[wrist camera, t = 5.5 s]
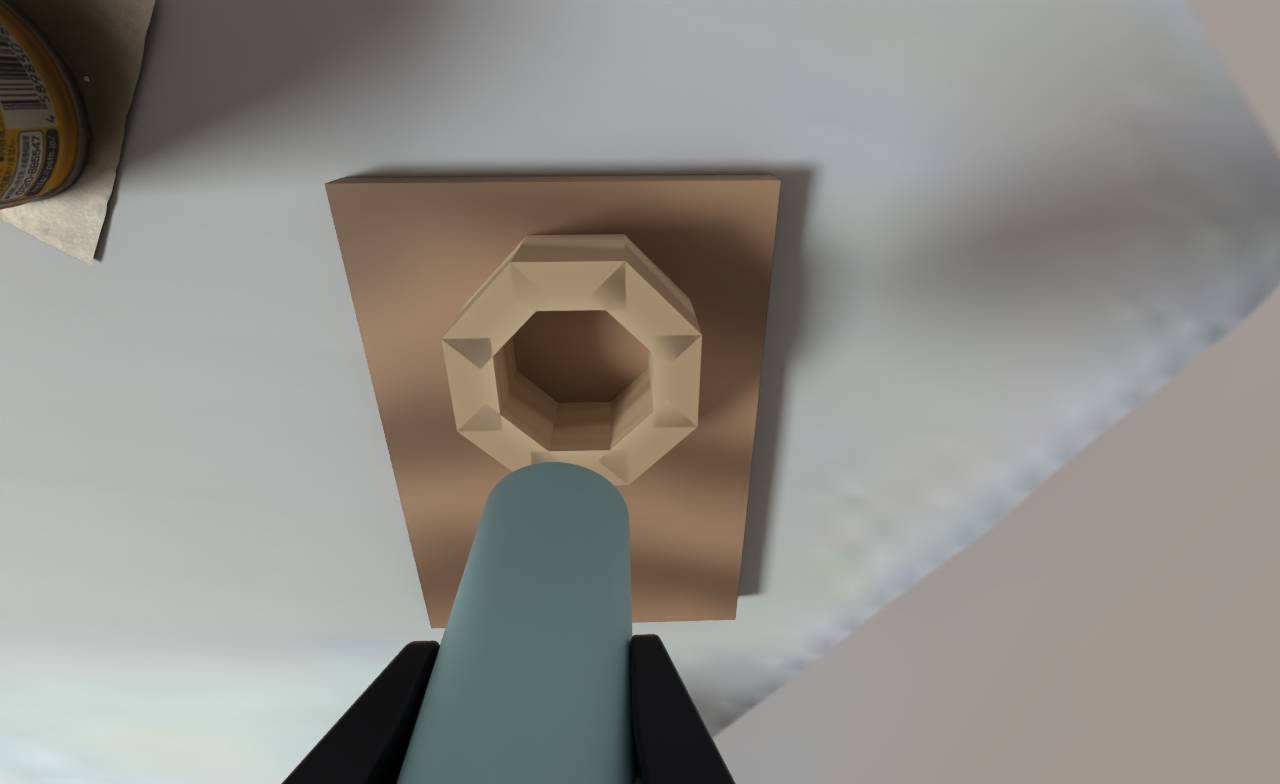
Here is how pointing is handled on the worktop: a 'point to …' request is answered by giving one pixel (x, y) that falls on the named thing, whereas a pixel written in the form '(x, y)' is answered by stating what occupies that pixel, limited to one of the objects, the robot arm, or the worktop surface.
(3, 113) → the condiment
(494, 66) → the worktop surface
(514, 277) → the bead
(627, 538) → the dowel
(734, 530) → the board
